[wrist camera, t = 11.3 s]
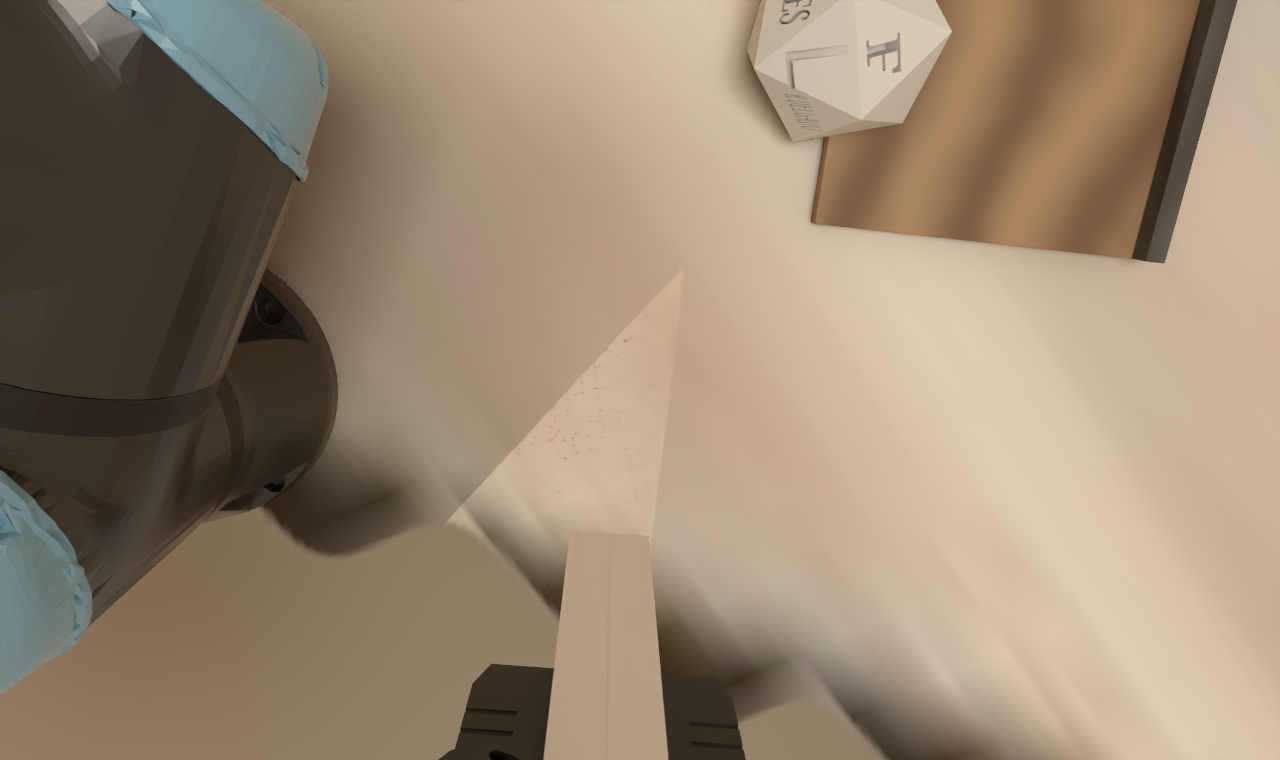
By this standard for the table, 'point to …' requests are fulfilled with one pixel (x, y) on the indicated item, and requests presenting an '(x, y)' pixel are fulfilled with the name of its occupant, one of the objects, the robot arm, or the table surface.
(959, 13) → the board
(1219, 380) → the table surface
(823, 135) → the die
